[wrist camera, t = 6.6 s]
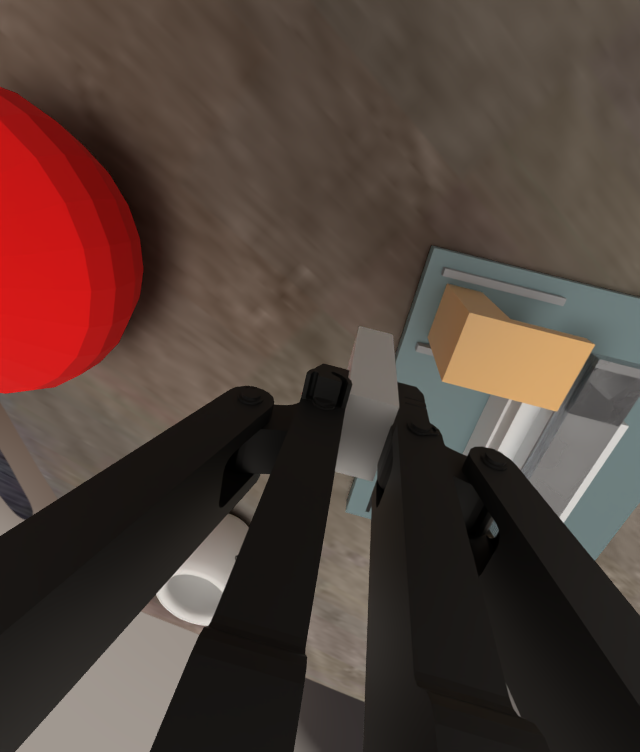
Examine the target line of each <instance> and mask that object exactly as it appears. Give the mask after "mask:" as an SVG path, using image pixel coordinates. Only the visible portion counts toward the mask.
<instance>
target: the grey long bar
mask: <svg viewBox="0 0 640 752" xmlns="http://www.w3.org/2000/svg"><path fill="white" fill-rule="evenodd" d="M639 397H640V364H636V363H632V362H629V361H625V360H621V359H617V358H613V357H609V356H605V355H601V354H597V353H593V352H591V353H590V355H589V357H588V358H587V360H586V362H585V364H584V365H583V367H582V369H581V371H580V372H579V374H578V376H577V378H576V379H575V381H574V383H573V385H572V387H571V388H570V390H569V392H568V394H567V395H566V397H565V399H564V401H563V402H562V404H561V406H560V408H559V409H558V411H557V412H556V411H555V413H554V415H553V416H552V418H551V420H550V422H549V423H548V425H547V427H546V429H545V431H544V432H543V434H542V436H541V438H540V439H539V441H538V443H537V445H536V446H535V448H534V450H533V452H532V453H531V455H530V457H529V459H528V461H527V462H526V464H525V466H524V468H523V469H522V471H521V472H522V473H523V474H524V475H525V476H526V478H527V479H528V480H529V481H530V482H531V484H532V485H533V486H534V487H535V489H536V490H537V491H538V492H539V493H540V495H541V496H542V497H543V498H544V500H545V501H546V502H547V503H548V504H549V506H550V507H551V508H552V509H553V511H554V512H555V513H556V514H557V515H558V517H560V516H561V514H562V513H563V511H564V510H565V508H566V507H567V505H568V504H569V502H570V501H571V499H572V498H573V496H574V495H575V493H576V492H577V490H578V489H579V487H580V486H581V484H582V483H583V481H584V479H585V478H586V476H587V475H588V473H589V472H590V470H591V469H592V467H593V466H594V464H595V463H596V461H597V460H598V458H599V457H600V455H601V454H602V452H603V451H604V449H605V448H606V446H607V445H608V443H609V442H610V440H611V439H612V437H613V436H614V434H615V433H616V431H617V430H618V428H619V427H620V425H621V424H622V422H623V421H624V419H625V418H626V416H627V415H628V413H629V412H630V410H631V409H632V407H633V406H634V404H635V403H636V401H637V400H638V398H639ZM489 530H490V532H491V533H492V535H493V536H494V537H495V536H496V535H497V533H498V532H499V529H498V527H497V525H496V523H495V521H493V522H492V524H491V526H490V528H489Z"/></svg>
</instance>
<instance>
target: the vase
mask: <svg viewBox="0 0 640 752" xmlns="http://www.w3.org/2000/svg"><path fill="white" fill-rule="evenodd" d="M142 277H143V261H142V252H141V244H140V237H139V234H138V232H137V229H136V226H135V223H134V220H133V217H132V214H131V212H130V209H129V206H128V204H127V202H126V201H125V199H124V197H123V196H122V194H121V192H120V191H119V189H118V187H117V186H116V184H115V182H114V181H113V179H112V177H111V176H110V174H109V173H108V172H107V171H106V170H105V168H104V167H103V166H102V165H101V164H100V163H99V162H98V161H97V160H96V159H95V158H94V156H93V155H92V154H91V153H90V152H89V151H88V150H87V149H86V148H85V147H84V146H83V145H82V144H81V143H80V142H79V141H78V140H77V139H76V138H74V137H73V136H72V135H71V134H70V133H69V132H68V131H67V130H66V129H64V128H63V127H62V126H61V125H60V124H59V123H58V122H57V121H55V120H54V119H52V118H51V117H50V116H48V115H47V114H45V113H44V112H43V111H41V110H40V109H38V108H37V107H35V106H34V105H33V104H31V103H30V102H28V101H27V100H26V99H24V98H23V97H21V96H20V95H19V94H17V93H15V92H12V91H10V90H7V89H4V88H2V87H0V393H13V392H21V391H29V390H37V389H44V388H52V387H56V386H58V385H60V384H62V383H64V382H66V381H68V380H70V379H72V378H74V377H77V376H79V375H80V374H82V373H84V372H85V371H87V370H88V369H90V368H92V367H93V366H95V365H97V364H98V363H100V362H101V361H102V360H103V359H104V358H105V357H106V355H107V354H108V353H109V352H110V351H111V350H112V349H113V348H114V347H115V346H116V345H117V344H118V343H119V341H120V339H121V337H122V335H123V332H124V330H125V328H126V326H127V324H128V322H129V320H130V317H131V315H132V313H133V311H134V309H135V306H136V304H137V302H138V300H139V297H140V292H141V284H142Z"/></svg>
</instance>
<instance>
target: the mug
mask: <svg viewBox="0 0 640 752" xmlns="http://www.w3.org/2000/svg"><path fill="white" fill-rule="evenodd" d="M248 529H249V527H248V526H247V525H246V524H245V523H244V522H243V521H242V520H241V519H239V518H238V517H236V516H234V515H232V514H227V515H226V517H225V518H224V519H223V520H222V521H221V522H220V523H219V524H218V525H217V527H216V528H215V529H214V530H213V531H212V532H211V533H210V534H209V536H208V537H207V538H206V539H205V540H204V541H203V542H202V543H201V544H200V546H199V547H198V548H197V549H196V550H195V551H194V552H193V553H192V555H191V556H190V557H189V558H188V559H187V560H186V561H185V562H184V563H183V565H182V566H181V567H180V568H179V569H178V570H177V571H176V572H175V574H174V575H173V576H172V577H171V578H170V579H169V580H168V581H167V582H166V584H165V585H164V586H163V587H162V588H161V589H160V590H159V591H158V593H157V594H156V595H157V597H158V599H159V601H160V602H161V604H162V605H163V606H164V607H165V608H166V609H167V610H168V611H169V612H171V613H172V614H173V615H175V616H176V617H178V618H180V619H182V620H184V621H187V622H190V623H193V624H197V625H204V626H208V625H209V624H210V622H211V620H212V618H213V615H214V613H215V611H216V608H217V606H218V603H219V601H220V598H221V596H222V593H223V591H224V588H225V586H226V583H227V581H228V578H229V576H230V573H231V571H232V568H233V566H234V564H235V561H236V559H237V556H238V554H239V551H240V549H241V546H242V544H243V541H244V539H245V536H246V534H247V531H248Z"/></svg>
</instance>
